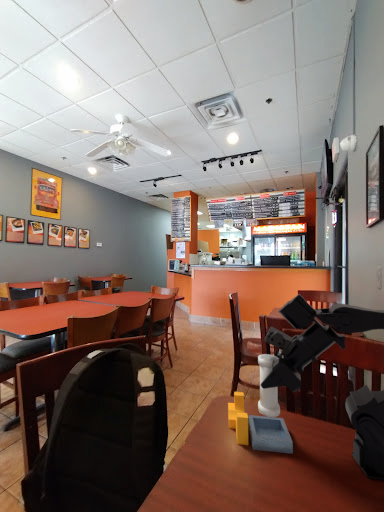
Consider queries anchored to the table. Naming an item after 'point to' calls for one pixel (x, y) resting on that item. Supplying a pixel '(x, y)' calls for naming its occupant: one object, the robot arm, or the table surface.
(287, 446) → the blue-grey square tray
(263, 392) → the white domed pillar
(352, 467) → the table surface
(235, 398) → the pipe clamp
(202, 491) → the table surface
